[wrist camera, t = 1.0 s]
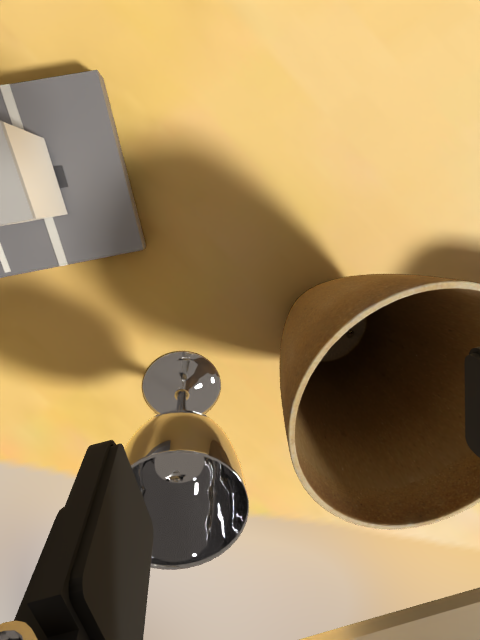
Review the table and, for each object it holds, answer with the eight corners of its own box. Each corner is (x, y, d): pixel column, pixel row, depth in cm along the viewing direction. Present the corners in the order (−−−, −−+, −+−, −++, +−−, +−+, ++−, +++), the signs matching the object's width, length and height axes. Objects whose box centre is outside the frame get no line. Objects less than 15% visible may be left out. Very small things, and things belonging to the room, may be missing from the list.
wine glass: (220, 341, 34) (242, 442, 20) (229, 418, 37) (254, 556, 23) (130, 353, 34) (87, 466, 20) (145, 431, 36) (117, 581, 22)
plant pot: (213, 304, 33) (233, 392, 18) (361, 208, 32) (511, 218, 17) (295, 424, 38) (365, 574, 23) (426, 344, 37) (589, 444, 22)
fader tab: (-2, 146, 26) (-60, 130, 20) (44, 138, 26) (-1, 120, 20) (25, 222, 27) (-22, 229, 21) (67, 214, 27) (33, 218, 21)
